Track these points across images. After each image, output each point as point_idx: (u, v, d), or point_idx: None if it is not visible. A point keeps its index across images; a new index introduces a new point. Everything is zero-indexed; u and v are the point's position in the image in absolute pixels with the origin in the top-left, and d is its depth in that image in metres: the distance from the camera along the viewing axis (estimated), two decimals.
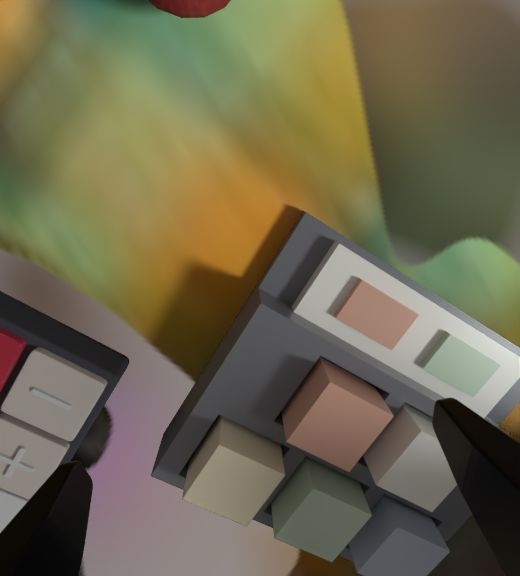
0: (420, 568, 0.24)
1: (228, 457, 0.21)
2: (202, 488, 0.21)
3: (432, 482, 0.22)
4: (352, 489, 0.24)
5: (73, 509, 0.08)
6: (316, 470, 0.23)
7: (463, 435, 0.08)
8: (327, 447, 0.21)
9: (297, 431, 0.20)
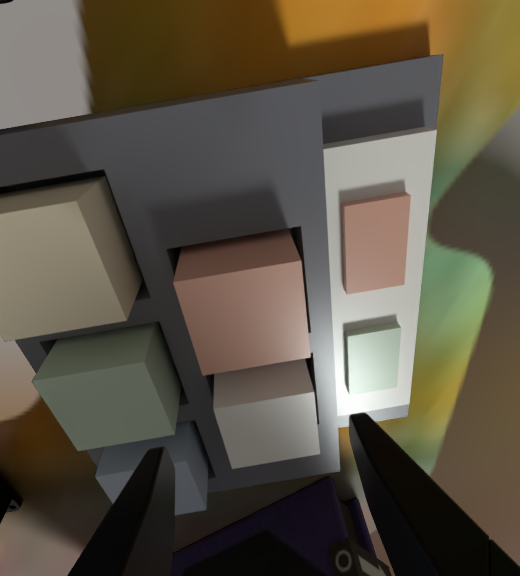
0: None
1: (71, 231, 0.11)
2: None
3: (264, 444, 0.17)
4: (173, 394, 0.17)
5: (165, 493, 0.08)
6: (156, 346, 0.16)
7: (364, 452, 0.08)
8: (211, 330, 0.13)
9: (199, 282, 0.12)
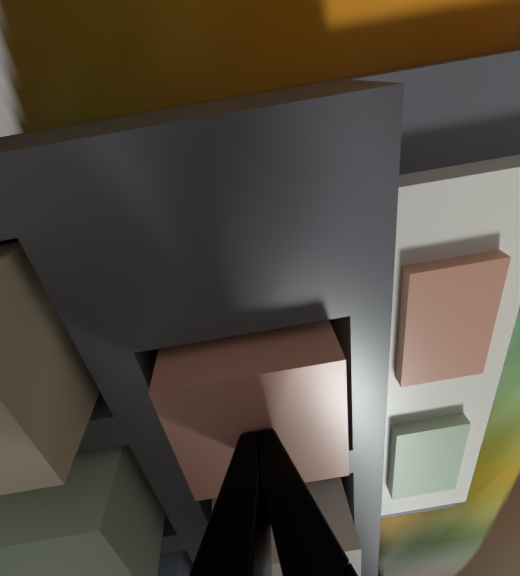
0: None
1: None
2: None
3: None
4: (152, 533, 0.12)
5: None
6: (124, 478, 0.11)
7: (260, 469, 0.08)
8: (207, 449, 0.09)
9: (189, 391, 0.08)
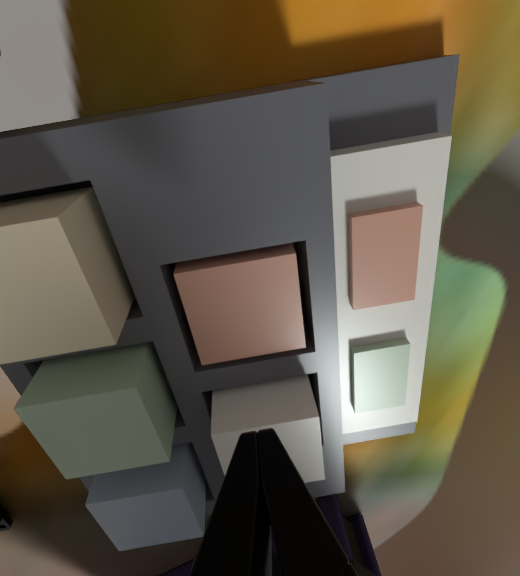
0: (159, 535, 0.18)
1: (53, 250, 0.10)
2: None
3: None
4: (168, 417, 0.16)
5: None
6: (149, 367, 0.15)
7: (260, 469, 0.08)
8: (210, 320, 0.14)
9: (199, 274, 0.13)
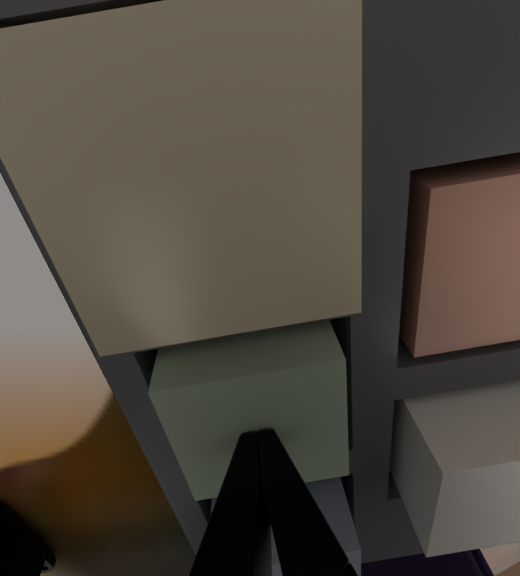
0: None
1: (318, 73, 0.04)
2: (86, 90, 0.04)
3: (495, 523, 0.10)
4: None
5: None
6: None
7: (260, 469, 0.08)
8: (457, 280, 0.08)
9: (473, 190, 0.07)
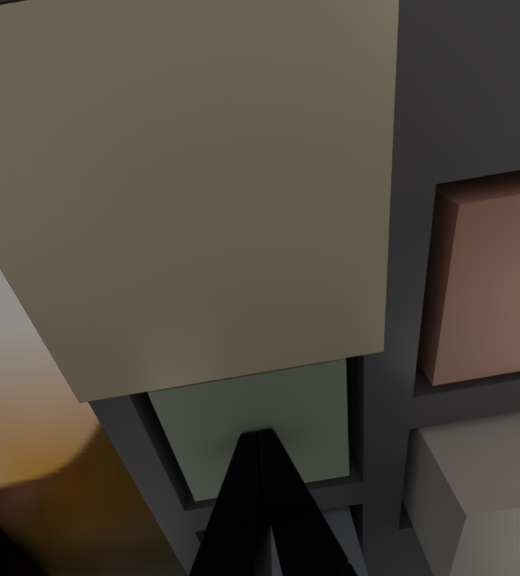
0: None
1: (342, 73, 0.03)
2: (50, 94, 0.03)
3: (519, 563, 0.09)
4: None
5: None
6: None
7: (260, 469, 0.08)
8: (484, 303, 0.07)
9: (505, 206, 0.06)
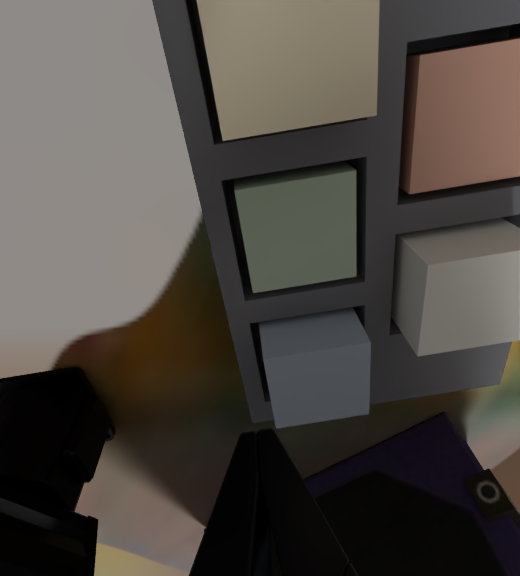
0: (324, 409, 0.17)
1: None
2: None
3: (466, 322, 0.14)
4: None
5: None
6: None
7: (260, 470, 0.08)
8: (438, 128, 0.12)
9: (446, 58, 0.11)
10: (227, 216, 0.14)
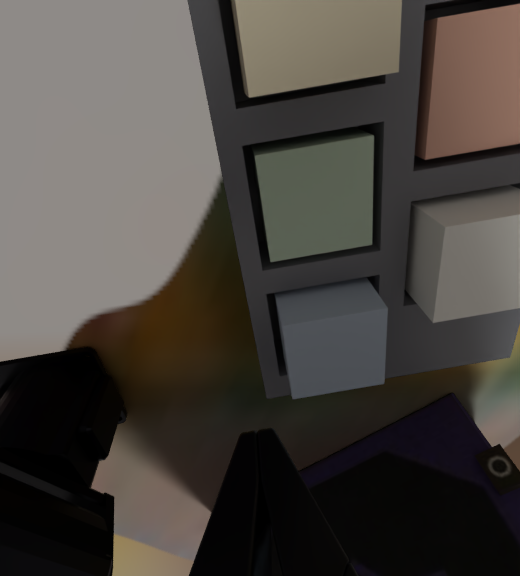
0: (340, 378, 0.17)
1: None
2: None
3: (481, 286, 0.15)
4: None
5: None
6: None
7: (260, 469, 0.08)
8: (454, 92, 0.13)
9: (463, 20, 0.12)
10: (247, 182, 0.14)
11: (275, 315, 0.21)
